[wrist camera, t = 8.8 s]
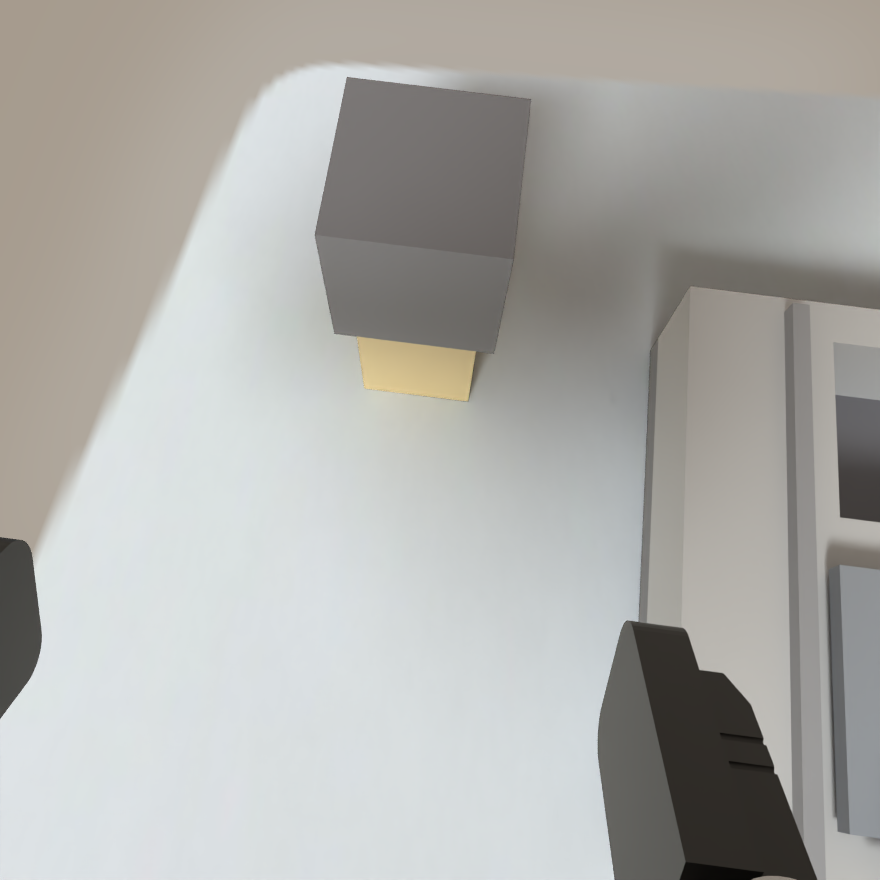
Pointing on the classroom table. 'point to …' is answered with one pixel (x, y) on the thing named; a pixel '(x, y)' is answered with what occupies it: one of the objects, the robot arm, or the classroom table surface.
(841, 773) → the shutter
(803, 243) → the classroom table surface
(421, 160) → the plug
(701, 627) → the socket
